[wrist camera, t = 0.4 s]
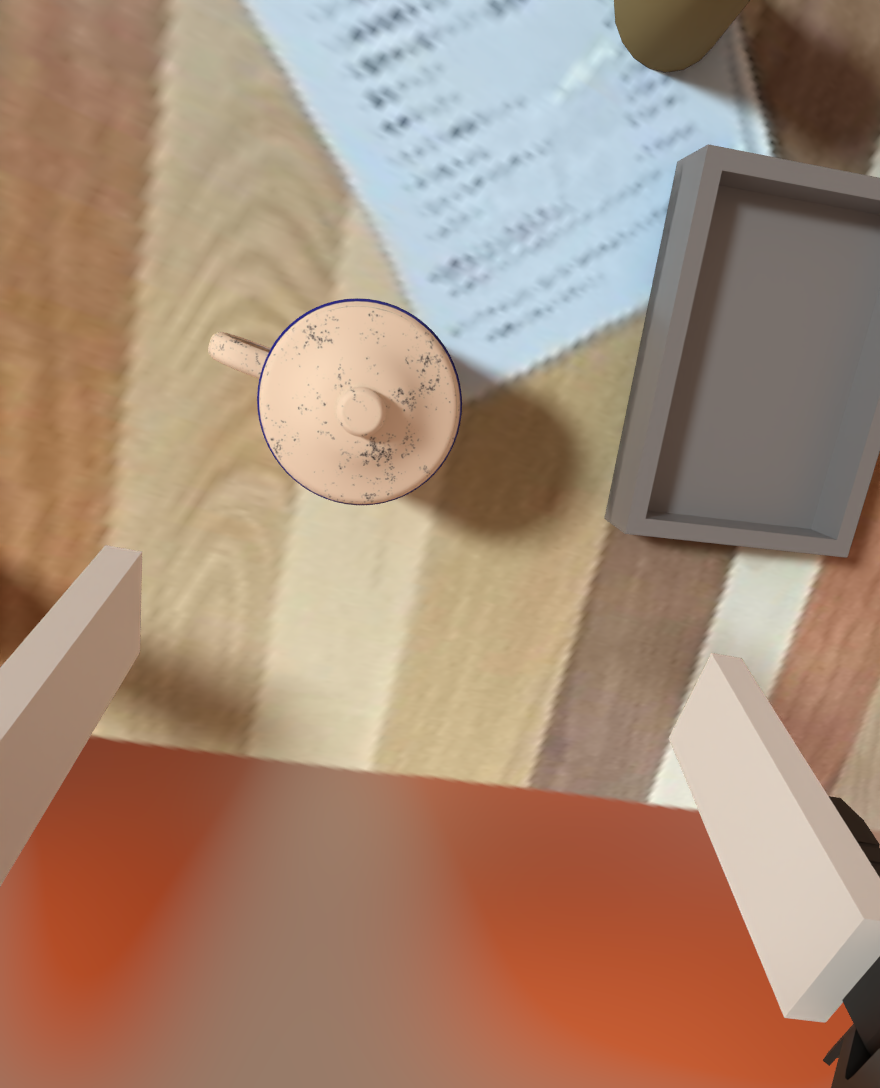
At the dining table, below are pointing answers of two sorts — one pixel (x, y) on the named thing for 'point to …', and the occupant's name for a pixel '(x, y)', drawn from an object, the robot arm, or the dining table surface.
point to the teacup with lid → (353, 399)
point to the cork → (673, 29)
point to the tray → (757, 360)
